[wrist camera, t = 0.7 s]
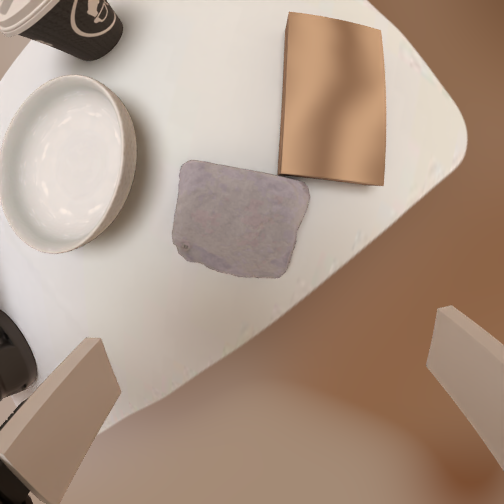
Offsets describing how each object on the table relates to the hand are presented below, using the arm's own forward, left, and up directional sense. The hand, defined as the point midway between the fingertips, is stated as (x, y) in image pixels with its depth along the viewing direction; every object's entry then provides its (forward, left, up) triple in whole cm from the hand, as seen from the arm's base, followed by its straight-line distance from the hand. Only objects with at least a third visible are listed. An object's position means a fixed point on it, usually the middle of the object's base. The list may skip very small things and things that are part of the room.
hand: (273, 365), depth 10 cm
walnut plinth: (+5, +15, -19) cm, 25 cm away
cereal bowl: (-20, +8, -19) cm, 29 cm away
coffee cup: (-21, +24, -19) cm, 37 cm away
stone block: (-3, +3, -19) cm, 20 cm away
